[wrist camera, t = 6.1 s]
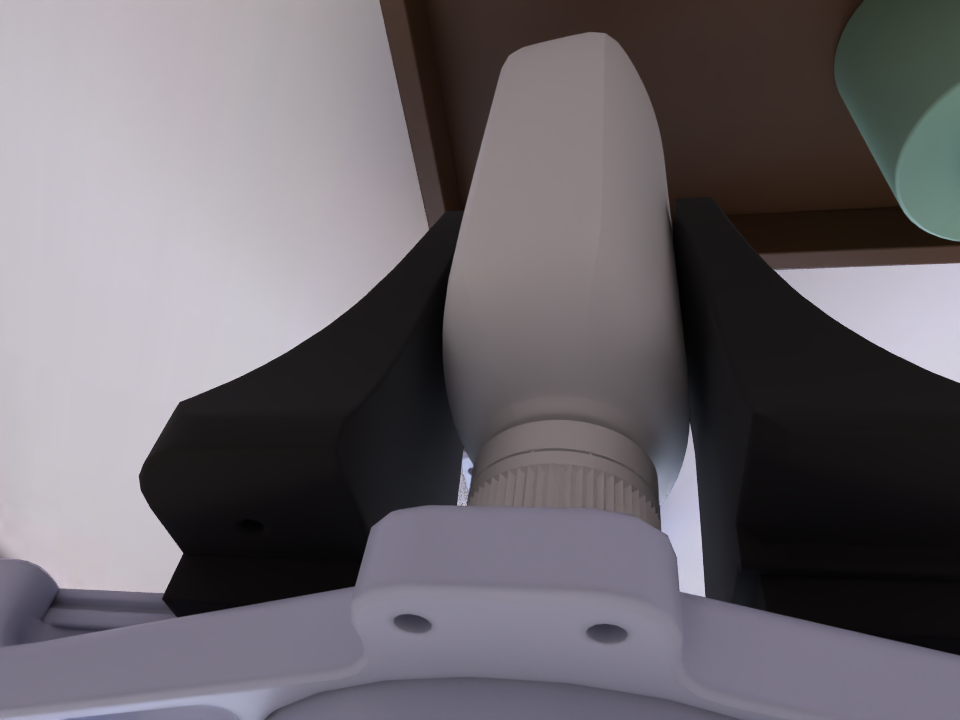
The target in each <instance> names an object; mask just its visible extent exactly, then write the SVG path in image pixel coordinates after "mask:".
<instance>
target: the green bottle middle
mask: <svg viewBox="0 0 960 720" xmlns="http://www.w3.org/2000/svg"><path fill="white" fill-rule="evenodd" d="M834 76H835V81H836V86H837V88H838V91H839V94H840V96H841V97H842V99H843V101H844V103H845V105H846V107H847V109H848V110H849V112H850V114H851V116H852V118H853V120H854V121H855V123H856V125H857V127H858V129H859V131H860V133H861V134H862V136H863V138H864V140H865V142H866V144H867V146H868V147H869V149H870V151H871V153H872V155H873V157H874V159H875V160H876V162H877V164H878V166H879V168H880V170H881V172H882V173H883V175H884V177H885V179H886V181H887V183H888V185H889V186H890V188H891V190H892V192H893V194H894V196H895V198H896V199H897V201H898V203H899V205H900V207H901V208H902V210H903V212H904V213H905V215H906V216H907V217H908V218H909V219H910V220H911V221H912V222H913V223H914V224H915V225H917V226H918V227H919V228H921V229H923V230H924V231H926V232H928V233H930V234H933V235H935V236H938V237H941V238H944V239H948V240H953V241H960V0H864V1H863V2H862V3H861V5H860V6H859V7H858V8H857V9H856V11H855V12H854V14H853V15H852V17H851V18H850V20H849V21H848V23H847V25H846V27H845V29H844V30H843V32H842V35H841V37H840V40H839V43H838V46H837V50H836V54H835V61H834Z"/></svg>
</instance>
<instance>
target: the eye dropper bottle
mask: <svg viewBox="0 0 960 720" xmlns="http://www.w3.org/2000/svg"><path fill="white" fill-rule="evenodd" d="M443 368H444V378H445V385H446V391H447V397H448V401H449V405H450V409H451V413H452V417H453V420H454V423H455V426H456V429H457V432H458V434H459V437H460V440H461V442H462V444H463V446H464V448H465V451H466V453H467V455H468V457H469V459H470V461H471V462H472V464H473V471H472V477H471V483H470V488H469V495H468V500H467V506H500V507H549V508H597V509H603V510H608V511H614V512H620V513H625V514H631V515H635V516H636V517H638V518H640V519H641V520H643V521H645V522H646V523H648V524H650V525H651V526H653V527H655V528H656V529H658V530H660V531H661V519H660V506H661V504H662V503H663V502H664V500H665V499H666V497H667V496H668V494H669V492H670V491H671V489H672V487H673V485H674V483H675V481H676V479H677V477H678V474H679V472H680V469H681V467H682V463H683V460H684V456H685V452H686V448H687V442H688V435H689V424H690V398H689V384H688V371H687V362H686V352H685V343H684V333H683V324H682V315H681V306H680V297H679V288H678V279H677V270H676V261H675V251H674V242H673V233H672V224H671V215H670V206H669V197H668V188H667V179H666V170H665V161H664V154H663V147H662V140H661V136H660V131H659V127H658V123H657V119H656V116H655V112H654V110H653V107H652V104H651V101H650V98H649V96H648V94H647V91H646V89H645V87H644V84H643V82H642V80H641V78H640V76H639V74H638V72H637V71H636V69H635V67H634V65H633V64H632V62H631V60H630V59H629V57H628V55H627V54H626V52H625V51H624V50H623V48H622V47H621V46H620V44H619V43H618V42H617V41H616V40H614V39H613V38H611V37H610V36H609V35H607V34H606V33H597V32H587V33H582V34H577V35H572V36H567V37H563V38H559V39H554V40H550V41H545V42H541V43H537V44H533V45H530V46H526V47H522V48H521V49H519V50H517V51H516V52H514V53H512V54H510V55H509V56H508V58H507V60H506V62H505V63H504V65H503V67H502V69H501V72H500V76H499V80H498V83H497V87H496V91H495V95H494V98H493V102H492V106H491V110H490V114H489V117H488V121H487V125H486V129H485V133H484V136H483V140H482V144H481V148H480V152H479V156H478V160H477V164H476V167H475V171H474V175H473V179H472V183H471V187H470V191H469V195H468V199H467V203H466V207H465V211H464V215H463V219H462V223H461V227H460V231H459V236H458V240H457V244H456V249H455V253H454V258H453V262H452V266H451V271H450V275H449V279H448V287H447V294H446V302H445V309H444V319H443Z"/></svg>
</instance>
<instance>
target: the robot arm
mask: <svg viewBox="0 0 960 720" xmlns="http://www.w3.org/2000/svg"><path fill="white" fill-rule="evenodd" d="M464 211H465V210H462V211H446V212H445V213H444V214H443V215H442V216H441V217H440V218H439V220H438V221H437V222H436V223H435V224H434V225H433V226H432V227H431V228H430V230H429V231H428V232H427V233H426V234H425V235H424V236H423V237H422V239H421V240H420V241H419V242H418V243H417V244H416V245H415V246H414V248H413V249H412V250H411V251H410V252H409V253H408V254H407V255H406V256H405V257H404V258H403V259H402V261H401V262H400V263H399V264H398V265H397V266H396V267H395V268H394V269H393V270H392V271H391V272H390V273H389V274H388V275H387V276H386V277H385V278H384V279H382V280H381V281H380V282H379V283H378V284H377V285H376V286H375V287H374V288H373V289H372V290H371V291H370V292H369V293H368V294H367V295H366V296H365V297H363V298H362V299H361V300H360V301H359V302H358V303H356V304H355V305H354V306H353V307H352V308H350V309H349V310H348V311H347V312H345V313H344V314H343V315H341V316H340V317H339V318H337V319H336V320H335V321H334V322H332V323H331V324H330V325H328V326H327V327H325V328H324V329H323V330H321V331H319V332H318V333H316V334H315V335H313V336H312V337H310V338H309V339H307V340H305V341H304V342H302V343H301V344H299V345H298V346H296V347H294V348H293V349H291V350H290V351H288V352H287V353H285V354H283V355H281V356H280V357H278V358H276V359H274V360H272V361H270V362H269V363H267V364H265V365H263V366H261V367H259V368H257V369H255V370H253V371H251V372H249V373H247V374H245V375H243V376H241V377H239V378H237V379H235V380H232V381H230V382H228V383H226V384H223V385H221V386H218V387H216V388H214V389H211V390H209V391H206V392H204V393H202V394H199V395H197V396H194V397H192V398H189V399H187V400H184V401H181V402H180V403H179V404H178V406H177V407H176V409H175V411H174V412H173V414H172V416H171V417H170V419H169V421H168V422H167V424H166V426H165V428H164V429H163V431H162V433H161V435H160V436H159V438H158V440H157V441H156V443H155V445H154V447H153V448H152V450H151V452H150V454H149V455H148V457H147V459H146V460H145V462H144V464H143V467H142V469H141V472H140V474H139V480H140V488H141V491H142V493H143V495H144V497H145V499H146V501H147V503H148V504H149V506H150V508H151V509H152V511H153V512H154V514H155V515H156V516H157V518H158V519H159V520H160V522H161V523H162V524H163V526H164V527H165V529H166V530H167V531H168V533H169V534H170V535H171V537H172V538H173V539H174V541H175V542H176V543H177V545H178V546H179V548H180V549H181V550H182V552H183V555H182V558H181V560H180V562H179V564H178V566H177V568H176V570H175V572H174V574H173V576H172V579H171V581H170V583H169V585H168V587H167V589H166V591H165V593H146V592H125V591H104V590H82V589H61V588H59V587H58V585H57V583H56V582H55V581H54V579H53V578H52V577H51V576H50V575H49V574H48V573H47V572H46V571H45V570H44V569H42V568H41V567H40V566H38V565H36V564H33V563H31V562H29V561H24V560H19V559H1V558H0V720H960V383H958V382H955V381H953V380H950V379H948V378H945V377H943V376H940V375H937V374H935V373H932V372H930V371H928V370H926V369H924V368H921V367H919V366H917V365H915V364H913V363H911V362H909V361H907V360H905V359H903V358H901V357H898V356H896V355H894V354H892V353H890V352H889V351H887V350H885V349H883V348H881V347H879V346H877V345H875V344H874V343H872V342H870V341H868V340H867V339H865V338H863V337H862V336H860V335H858V334H857V333H855V332H853V331H852V330H850V329H848V328H847V327H845V326H843V325H842V324H840V323H839V322H837V321H836V320H834V319H833V318H831V317H830V316H828V315H827V314H826V313H824V312H823V311H822V310H820V309H819V308H818V307H816V306H815V305H814V304H812V303H811V302H810V301H808V300H807V299H806V298H804V297H803V296H802V295H801V294H799V293H798V292H797V291H796V290H795V289H793V288H792V287H791V286H790V285H789V284H788V283H787V282H786V281H785V280H784V279H783V278H781V277H780V276H779V275H778V274H777V273H776V272H775V271H774V270H773V269H772V268H771V267H770V266H769V265H768V264H767V263H766V262H765V261H764V259H763V258H762V257H761V256H760V255H759V254H758V253H757V252H756V251H755V250H754V249H753V247H752V246H751V245H750V244H749V243H748V242H747V241H746V240H745V238H744V237H743V236H742V235H741V234H740V232H739V231H738V230H737V229H736V227H735V226H734V225H733V224H732V222H731V221H730V220H729V219H728V217H727V216H726V215H725V213H724V212H723V210H722V209H721V208H720V206H719V205H718V203H717V202H716V201H715V200H714V199H713V198H712V197H695V198H677V199H674V222H673V242H674V251H675V261H676V270H677V279H678V288H679V297H680V306H681V315H682V324H683V333H684V343H685V352H686V362H687V371H688V384H689V398H690V425H691V431H692V436H693V443H694V450H695V459H696V471H697V483H698V496H699V509H700V522H701V536H702V550H703V565H704V581H705V596H706V598H705V597H701V596H697V595H692V594H688V593H683V592H679V579H678V566H677V557H676V554H675V552H674V550H673V547H672V545H671V543H670V540H669V538H668V535H666V534H664V533H663V532H661V531H660V530H658V529H656V528H655V527H653V526H651V525H650V524H648V523H646V522H645V521H643V520H641V519H640V518H638V517H636V516H635V515H631V514H625V513H620V512H614V511H608V510H603V509H597V508H549V507H500V506H457V500H458V491H459V482H460V474H461V466H462V470H463V474H464V478H465V482H466V486H467V491H468V495H469V488H470V483H471V477H472V471H473V464H472V462H471V461H470V459H469V457H468V455H467V453H466V451H465V452H463V451H464V446H463V444H462V442H461V440H460V437H459V434H458V432H457V429H456V426H455V423H454V420H453V417H452V413H451V409H450V405H449V401H448V397H447V391H446V385H445V378H444V368H443V319H444V309H445V302H446V294H447V287H448V279H449V275H450V271H451V266H452V262H453V258H454V253H455V249H456V244H457V240H458V236H459V231H460V227H461V223H462V219H463V215H464Z"/></svg>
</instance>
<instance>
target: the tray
mask: <svg viewBox="0 0 960 720" xmlns="http://www.w3.org/2000/svg"><path fill="white" fill-rule="evenodd" d="M379 1H380V5H381V10H382V14H383V19H384V24H385V28H386V33H387V37H388V42H389V47H390V51H391V56H392V60H393V65H394V70H395V74H396V79H397V83H398V88H399V93H400V97H401V102H402V106H403V111H404V116H405V120H406V125H407V129H408V134H409V139H410V143H411V148H412V152H413V157H414V162H415V166H416V171H417V175H418V180H419V185H420V189H421V194H422V198H423V203H424V208H425V212H426V217H427V221H428V226H429V230H430V228H431V227H432V226H433V225H434V224H435V223H436V222H437V221H438V220H439V218H440V217H441V216H442V215H443V214H444V213H445V212H446V211H462V210H465V207H466V203H467V199H468V195H469V191H470V187H471V183H472V179H473V175H474V171H475V167H476V164H477V160H478V156H479V152H480V148H481V144H482V140H483V136H484V133H485V129H486V125H487V121H488V117H489V114H490V110H491V106H492V102H493V98H494V95H495V91H496V87H497V83H498V80H499V76H500V72H501V69H502V67H503V65H504V63H505V62H506V60H507V58H508V56H509V55H510V54H512V53H514V52H516V51H517V50H519V49H521V48H522V47H526V46H530V45H533V44H537V43H541V42H545V41H550V40H554V39H559V38H563V37H567V36H572V35H577V34H582V33H587V32H597V33H606V34H607V35H609V36H610V37H611V38H613V39H614V40H616V41H617V42H618V43H619V44H620V46H621V47H622V48H623V50H624V51H625V52H626V54H627V55H628V57H629V59H630V60H631V62H632V64H633V65H634V67H635V69H636V71H637V72H638V74H639V76H640V78H641V80H642V82H643V84H644V87H645V89H646V91H647V94H648V96H649V98H650V101H651V104H652V107H653V110H654V112H655V116H656V119H657V123H658V127H659V131H660V136H661V140H662V147H663V154H664V161H665V170H666V179H667V188H668V197H669V206H670V215H671V224H672V233H673V222H674V199H677V198H695V197H712V198H713V199H714V200H715V201H716V202H717V203H718V205H719V206H720V208H721V209H722V210H723V212H724V213H725V215H726V216H727V217H728V219H729V220H730V221H731V222H732V224H733V225H734V226H735V227H736V229H737V230H738V231H739V232H740V234H741V235H742V236H743V237H744V238H745V240H746V241H747V242H748V243H749V244H750V245H751V246H752V247H753V249H754V250H755V251H756V252H757V253H758V254H759V255H760V256H761V257H762V258H763V259H764V261H765V262H766V263H767V264H768V265H769V266H770V267H771V268H772V269H773V270H785V269H812V268H839V267H866V266H893V265H920V264H947V263H960V241H953V240H948V239H944V238H941V237H938V236H935V235H933V234H930V233H928V232H926V231H924V230H923V229H921V228H919V227H918V226H917V225H915V224H914V223H913V222H912V221H911V220H910V219H909V218H908V217H907V216H906V215H905V213H904V212H903V210H902V208H901V207H900V205H899V203H898V201H897V199H896V198H895V196H894V194H893V192H892V190H891V188H890V186H889V185H888V183H887V181H886V179H885V177H884V175H883V173H882V172H881V170H880V168H879V166H878V164H877V162H876V160H875V159H874V157H873V155H872V153H871V151H870V149H869V147H868V146H867V144H866V142H865V140H864V138H863V136H862V134H861V133H860V131H859V129H858V127H857V125H856V123H855V121H854V120H853V118H852V116H851V114H850V112H849V110H848V109H847V107H846V105H845V103H844V101H843V99H842V97H841V96H840V94H839V91H838V88H837V86H836V81H835V76H834V61H835V54H836V50H837V46H838V43H839V40H840V37H841V35H842V32H843V30H844V29H845V27H846V25H847V23H848V21H849V20H850V18H851V17H852V15H853V14H854V12H855V11H856V9H857V8H858V7H859V6H860V5H861V3H862V2H863V1H864V0H379Z"/></svg>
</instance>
